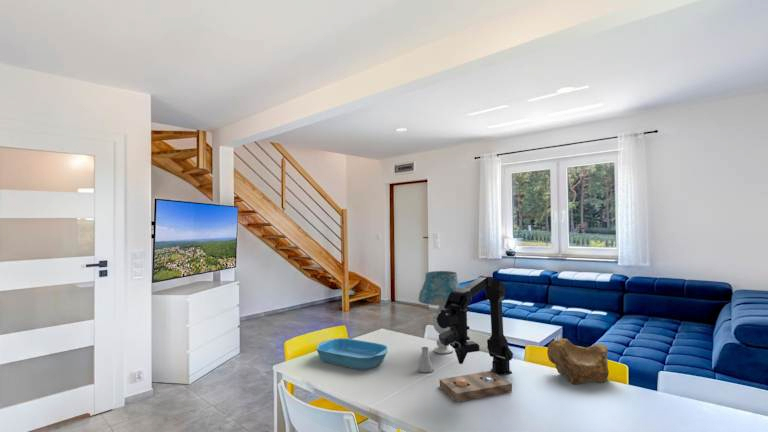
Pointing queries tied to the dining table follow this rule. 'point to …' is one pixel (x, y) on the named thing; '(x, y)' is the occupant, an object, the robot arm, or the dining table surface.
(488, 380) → the steel plunger
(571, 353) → the rough brown rock
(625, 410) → the dining table surface
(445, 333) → the robot arm
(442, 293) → the table lamp
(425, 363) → the flask
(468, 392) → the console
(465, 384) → the peach rounded cylinder
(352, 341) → the casserole dish
